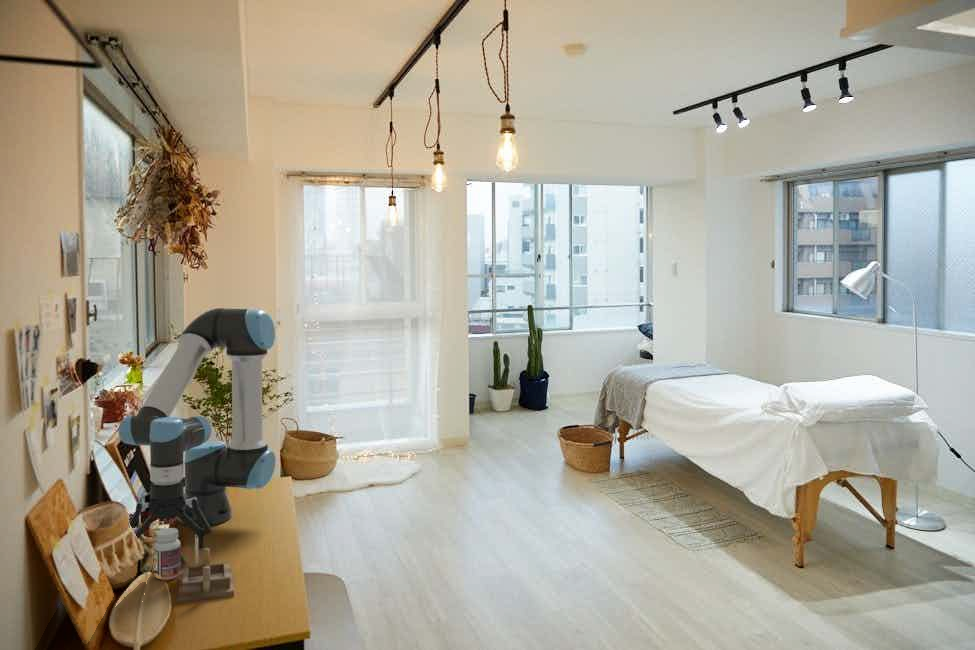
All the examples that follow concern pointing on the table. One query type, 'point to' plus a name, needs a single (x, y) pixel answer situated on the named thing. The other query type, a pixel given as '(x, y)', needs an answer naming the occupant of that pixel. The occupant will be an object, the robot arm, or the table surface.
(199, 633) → the table surface
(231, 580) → the holder
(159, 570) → the pill bottle
